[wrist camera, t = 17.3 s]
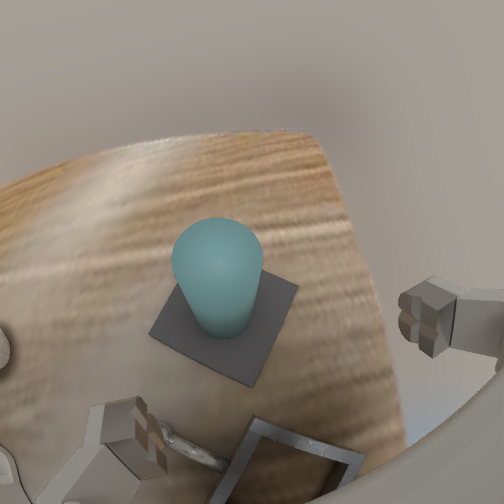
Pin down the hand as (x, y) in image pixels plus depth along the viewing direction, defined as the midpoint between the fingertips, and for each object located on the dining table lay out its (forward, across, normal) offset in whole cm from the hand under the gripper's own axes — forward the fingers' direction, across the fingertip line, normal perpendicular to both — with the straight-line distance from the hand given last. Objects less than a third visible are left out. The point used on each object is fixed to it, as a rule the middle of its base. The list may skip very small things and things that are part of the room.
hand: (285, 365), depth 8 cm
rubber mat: (+15, 0, +6) cm, 17 cm away
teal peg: (+15, 0, +6) cm, 16 cm away
